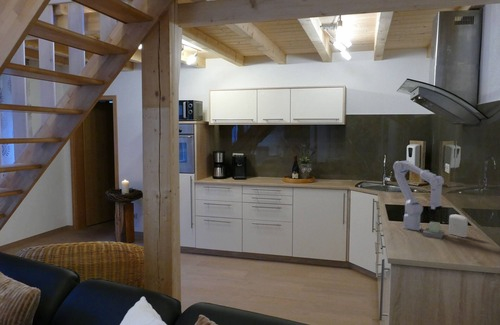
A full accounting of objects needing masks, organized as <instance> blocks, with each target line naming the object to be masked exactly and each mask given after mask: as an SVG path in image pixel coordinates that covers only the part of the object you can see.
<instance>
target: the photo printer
mask: <svg viewBox="0 0 500 325" xmlns="http://www.w3.org/2000/svg"><path fill="white" fill-rule="evenodd" d="M468 222H469V221H468V218H467V217H465V216H464V215H461V214H455V213H454V214H450V215H449V218H448V234H450V235H453V236H456V237H462V238H467V236H468V225H469V224H468Z"/></svg>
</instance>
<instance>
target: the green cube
mask: <svg viewBox="0 0 500 325" xmlns="http://www.w3.org/2000/svg"><path fill="white" fill-rule="evenodd" d="M428 224H429V226H428V228H429V232H436V233H438V232H439V230H440V227H441V226H440V224H441V223H440V222H439V221H438V222H437V221H430V222H429V223H428Z"/></svg>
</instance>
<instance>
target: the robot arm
mask: <svg viewBox="0 0 500 325" xmlns="http://www.w3.org/2000/svg"><path fill="white" fill-rule="evenodd" d="M392 169H393V171H394V178H395V180H396V182H397V185H398V187H399V190H400V191H401V194H402V195H403V197H404V200H405V204H404V208H405V212H406V213H404V215H403V225H402V228H403V229H405V230H413V231H418V232H419V231H420V230H421V229H422V226H421V214H422V212H423V211H424V207H423V205H422V204H421V202H420V201H419V200H417V198H415V196H414V194H413V192H412V190H411V188H410V185H409V183H408V181H407V178H406V174H407V173H408V172H409V171H411V172H413V173H414V174H417V175H419V177H420V179H423V180H424V181H425V182H427V183H429V185H430V200H429V205H430V207H428V208H427V209H428V211H429V215H430V219H431V221H436V220H437V218H439V215H440V211H441V209H442V207H443V206H444V204H443V203H442V191H443V190H442V188H443V185H444V184H445V179H444V177H442V176H441V175H437V174H436V173H433V172H430V170H429V169H421V168H420V167H418V166H416V165H415V164H414V163H413V162H411V161H409V160H401V161H399V160H397V161H395V162H394V163H393V166H392Z"/></svg>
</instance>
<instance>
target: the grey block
mask: <svg viewBox="0 0 500 325" xmlns="http://www.w3.org/2000/svg"><path fill="white" fill-rule="evenodd" d="M444 236H445V230H444V229H439V232H438V233H436V232H429V227H425V229H423V231H422V237H426V238H427V237H428V238H434V239H443V237H444Z"/></svg>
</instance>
